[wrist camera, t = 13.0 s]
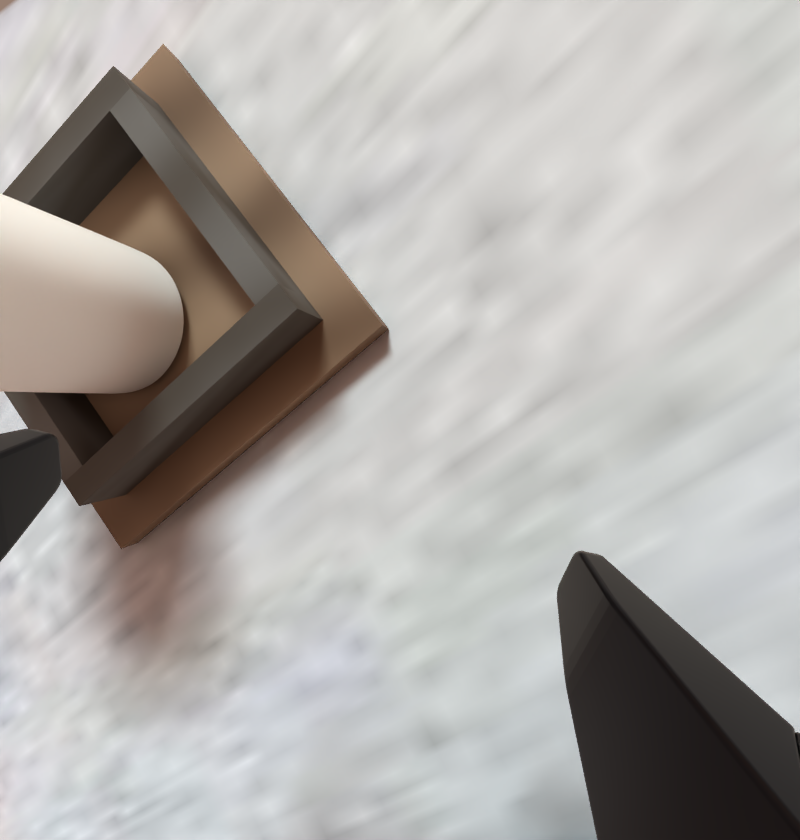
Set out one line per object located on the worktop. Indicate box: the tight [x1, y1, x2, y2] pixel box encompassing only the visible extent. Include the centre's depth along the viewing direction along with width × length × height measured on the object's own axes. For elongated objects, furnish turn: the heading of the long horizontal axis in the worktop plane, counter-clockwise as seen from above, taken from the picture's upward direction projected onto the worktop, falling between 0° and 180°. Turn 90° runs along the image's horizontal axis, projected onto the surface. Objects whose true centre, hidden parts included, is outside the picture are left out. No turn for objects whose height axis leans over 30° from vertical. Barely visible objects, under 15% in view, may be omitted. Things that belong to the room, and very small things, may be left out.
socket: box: [3, 44, 388, 549], centre depth 21 cm, size 16×16×4 cm
